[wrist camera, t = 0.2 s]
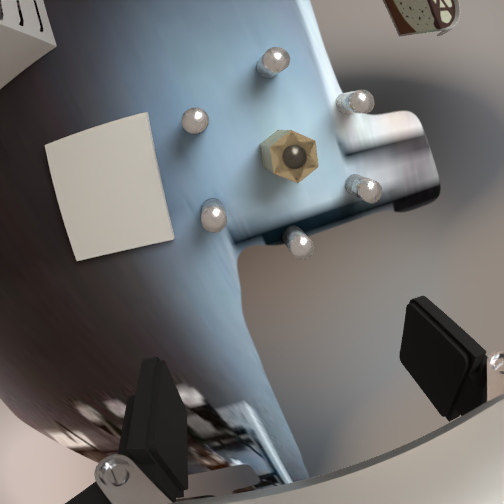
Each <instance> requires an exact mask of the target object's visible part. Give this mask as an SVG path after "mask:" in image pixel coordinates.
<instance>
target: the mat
mask: <svg viewBox="0 0 504 504" xmlns="http://www.w3.org/2000/svg"><path fill="white" fill-rule="evenodd" d="M45 149H46V154H47V159H48V163H49V168H50V172H51V177H52V181H53V185H54V189H55V192H56V196H57V200H58V204H59V207H60V211H61V214H62V218H63V221H64V224H65V227H66V231H67V234H68V237H69V240H70V243H71V246H72V249H73V252H74V255H75V258H76V260H77V261H80V260H84V259H88V258H93V257H97V256H101V255H106V254H110V253H115V252H119V251H123V250H128V249H132V248H137V247H141V246H146V245H151V244H155V243H160V242H164V241H169V240H174V237H175V236H174V232H173V228H172V224H171V220H170V216H169V212H168V208H167V203H166V199H165V195H164V190H163V186H162V181H161V177H160V172H159V167H158V162H157V158H156V153H155V148H154V143H153V138H152V132H151V127H150V122H149V116H148V112H145V113H141V114H137V115H133V116H130V117H126V118H123V119H119V120H116V121H112V122H109V123H106V124H103V125H100V126H96V127H93V128H90V129H87V130H84V131H81V132H79V133H76V134H73V135H70V136H67V137H65V138H62V139H59V140H57V141H54V142H52V143H49V144H47V145H45Z"/></svg>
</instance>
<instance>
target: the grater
mask: <svg viewBox="0 0 504 504" xmlns="http://www.w3.org/2000/svg"><path fill="white" fill-rule="evenodd" d="M16 1H18V0H1V2H0V4H2V6H0V10H1V8H2V9H3V11H0V16H1V17H0V89H1V88H2V87H4V86H5V85H6V84H7V83H8V82H10V81H11V80H12V79H13V78H14V77H16V76H17V75H18V74H19V73H21V72H22V71H23V70H25V69H26V68H27V67H29V66H30V65H31V64H33V63H34V62H35V61H37V60H38V59H39V58H41V57H42V56H44V55H45V54H46V53H48V52H49V51H51V50H52V49H54V48H55V47H57V45H56V42H55V39H54V36H53V33H52V29H51V26H50V23H49V19H48V16H47V12H46V9H45V5H44V2H43V0H35V1H36V3H37V7H38V10H39V14H40V18H41V21H42V25H43V32H40V23H39V19H38V16H37V12H36V8H35V4H34V1H33V0H19V3H18V4H17V2H16ZM17 5H20V6H19V7H17ZM19 10H21V12H22V16H23V20H24V24H23V26H20V25H19V23H20V16H19V12H18V11H19ZM2 12H3V15H1V13H2ZM2 17H3V19H2Z"/></svg>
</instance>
